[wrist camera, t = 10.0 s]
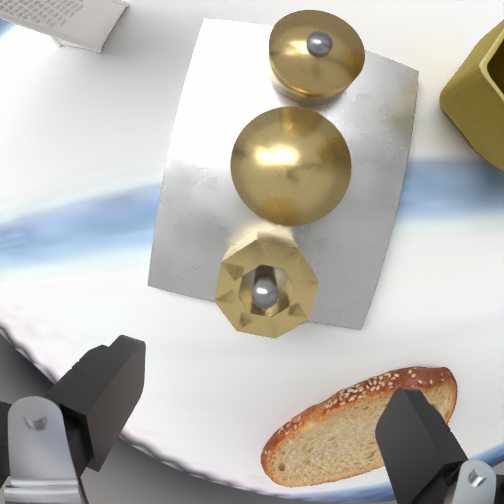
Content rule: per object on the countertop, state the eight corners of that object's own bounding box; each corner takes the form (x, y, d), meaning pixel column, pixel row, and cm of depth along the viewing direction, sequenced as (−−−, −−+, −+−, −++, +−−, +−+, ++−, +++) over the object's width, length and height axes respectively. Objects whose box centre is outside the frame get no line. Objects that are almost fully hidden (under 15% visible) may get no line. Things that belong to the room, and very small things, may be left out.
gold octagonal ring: (316, 242, 20) (326, 254, 17) (296, 318, 21) (301, 342, 18) (233, 224, 20) (226, 233, 17) (218, 302, 21) (209, 325, 18)
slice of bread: (250, 469, 27) (249, 494, 24) (313, 339, 24) (320, 365, 20) (386, 479, 28) (393, 499, 24) (467, 368, 24) (485, 387, 20)
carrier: (411, 75, 18) (447, 52, 13) (356, 323, 23) (379, 360, 17) (207, 26, 18) (191, -13, 13) (153, 280, 23) (122, 308, 17)
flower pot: (455, 45, 17) (515, 8, 8) (513, 119, 18) (580, 110, 9) (409, 100, 19) (478, 67, 10) (476, 182, 20) (553, 188, 11)
